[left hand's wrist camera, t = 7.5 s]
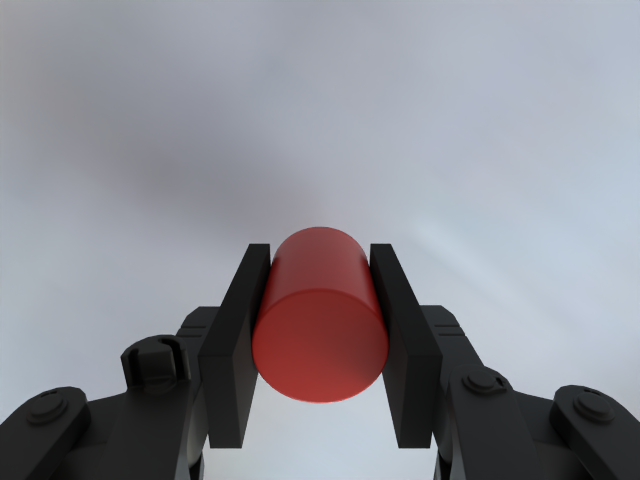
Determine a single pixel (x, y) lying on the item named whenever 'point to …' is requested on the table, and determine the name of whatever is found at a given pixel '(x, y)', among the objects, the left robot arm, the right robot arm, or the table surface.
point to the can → (320, 319)
